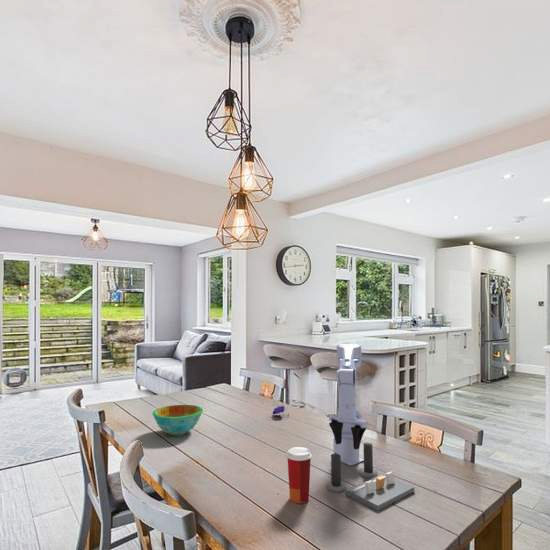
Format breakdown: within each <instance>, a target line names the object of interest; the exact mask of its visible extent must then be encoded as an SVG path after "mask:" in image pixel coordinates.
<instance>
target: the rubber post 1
mask: <svg viewBox="0 0 550 550" xmlns="http://www.w3.org/2000/svg"><path fill="white" fill-rule="evenodd" d="M341 463H342V462H341V456H340V455H339V454H334V453H331V454H330V464H331V465H330V468H331V469H330V470H331V471H330V472H331V475H330V476H331V477H330V479H331V480H329V481H327V482H326V489H327V491H329V492H332V493H342V491H343V492H345V491H346V490H345V489H347V486H346V483H345V482H344V481H342V469H341V468H342V465H341ZM344 490H345V491H344Z"/></svg>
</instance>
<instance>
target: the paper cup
mask: <svg viewBox="0 0 550 550" xmlns="http://www.w3.org/2000/svg"><path fill="white" fill-rule="evenodd" d="M285 456H286V458H287V470H288V471H287V473H288V487H289V499H290V501H291V502H292V503H294V504H298V503H301V504H305V503H307V502H309V497H310V480H311V477H310V476H311V475H310V474H311V458H312V456H313V455H312V454H311V451H310V449H308V448H307V447H302V446H296V447H290V448H289V449H288V451H286V453H285Z"/></svg>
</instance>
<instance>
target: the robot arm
mask: <svg viewBox="0 0 550 550" xmlns="http://www.w3.org/2000/svg"><path fill="white" fill-rule="evenodd" d="M336 358H337V365H338V369H337V370H336V383H337V391H338V395H337V396H338V400H337V401H338V411H337V412H336V414H333V413H331V414H328V421H330V422H329V423H328V425H329V427H330V429H331V431H332V433H333V443H332V445H333V454H339V455H340V456H341V463H344V464H346V465H348V466H351V467H352V466H354V465H357V464H359V463H362V462H364V457H360V447H361V442H362V438H363V435H364V434H365V432H366V430H367V427H368V426H367V423H368V422H367V420H363V415H362V413H361V412H360V411H359V410H358V409H357V408H356V384H357V369H358V368H361V367H362V366H361V365H362V345H361V344H360V343H359V344H355V343H354V344H351V343H348V344H347V343H338V344H337V345H336Z"/></svg>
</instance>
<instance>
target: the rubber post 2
mask: <svg viewBox="0 0 550 550" xmlns="http://www.w3.org/2000/svg"><path fill="white" fill-rule="evenodd" d="M373 453H374V452H373V443H372V442H365V443H363V459H364V461H363V467H362V468H360V469H359V476H361V475H362V476H361V477H363V478H365V477H367V478H366V479H372V478H374V477H376V476H377V475H378V476H379V473H378V470H377V469H375V468H374V461H373V460H374V459H373V456H374V455H373Z"/></svg>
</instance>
